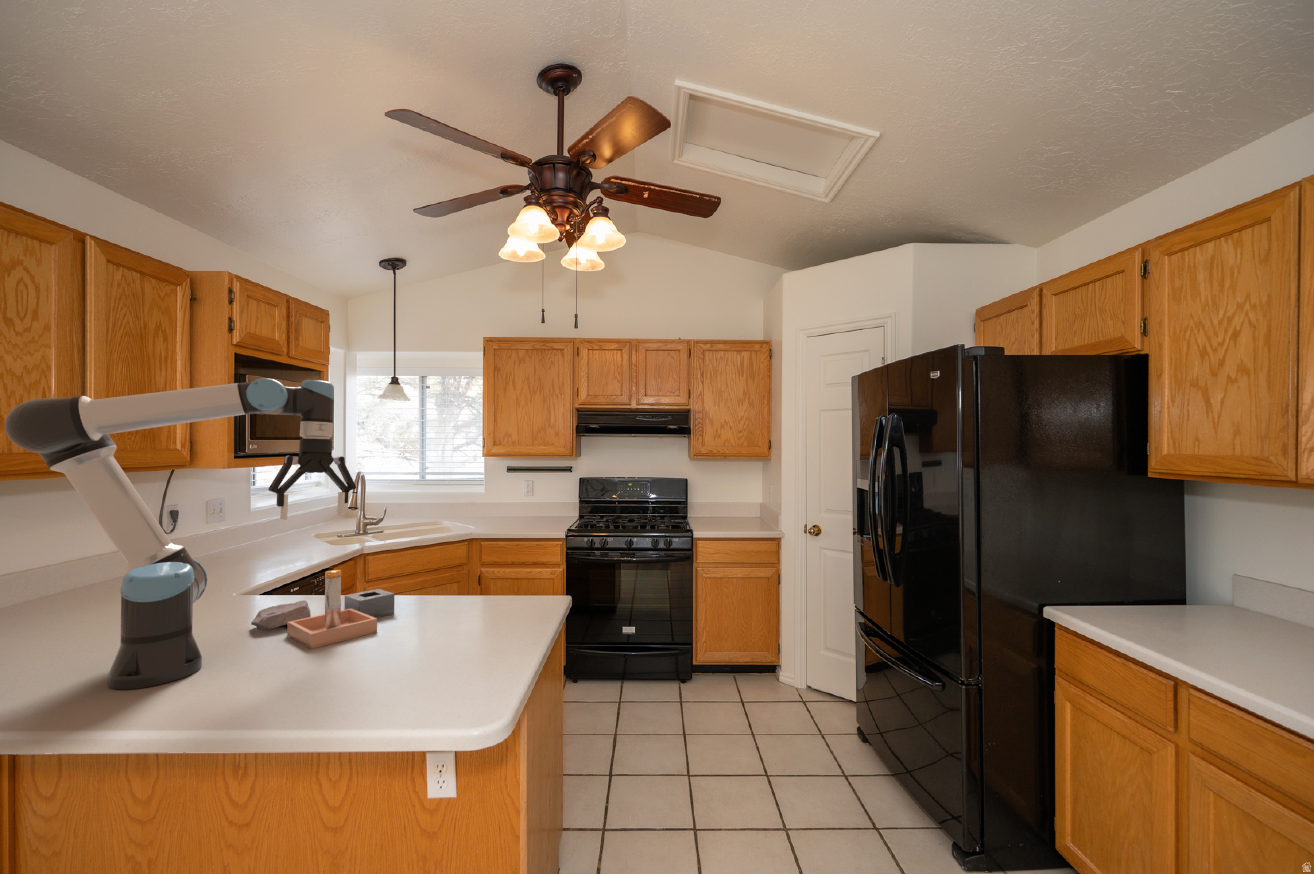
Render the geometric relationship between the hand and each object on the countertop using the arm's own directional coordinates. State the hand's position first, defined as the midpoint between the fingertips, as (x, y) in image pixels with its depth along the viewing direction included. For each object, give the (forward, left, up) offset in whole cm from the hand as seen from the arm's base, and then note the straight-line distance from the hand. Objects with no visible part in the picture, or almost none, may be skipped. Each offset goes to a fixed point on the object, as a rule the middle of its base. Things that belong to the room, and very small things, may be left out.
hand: (313, 517), depth 147 cm
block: (+18, +6, -31) cm, 36 cm away
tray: (+4, -4, -31) cm, 32 cm away
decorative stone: (-3, +15, -32) cm, 35 cm away
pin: (+4, -4, -31) cm, 31 cm away
